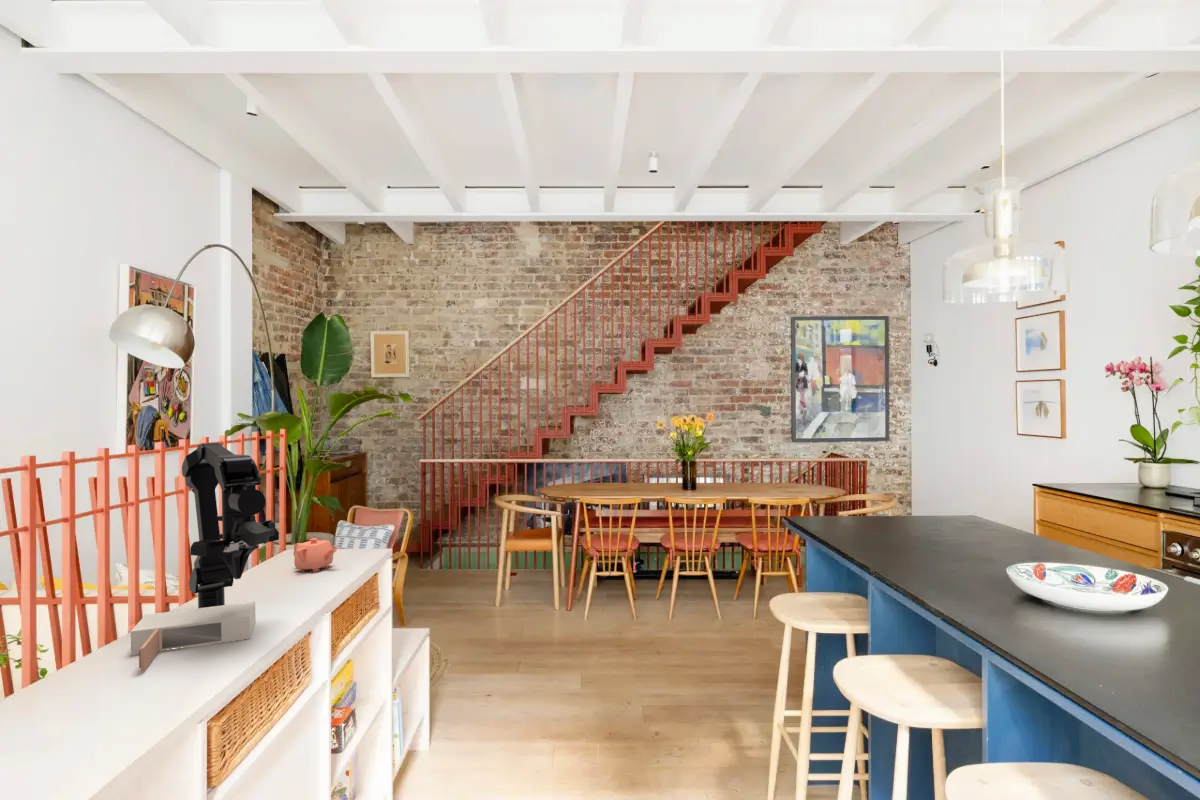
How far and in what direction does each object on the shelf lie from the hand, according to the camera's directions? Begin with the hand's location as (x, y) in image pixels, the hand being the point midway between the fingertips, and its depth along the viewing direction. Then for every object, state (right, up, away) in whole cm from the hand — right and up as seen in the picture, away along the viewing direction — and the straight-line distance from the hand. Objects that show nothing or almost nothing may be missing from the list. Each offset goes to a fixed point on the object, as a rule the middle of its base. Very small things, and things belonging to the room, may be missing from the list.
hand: (237, 578), depth 151 cm
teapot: (-6, -13, +56) cm, 57 cm away
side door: (-8, -12, -18) cm, 23 cm away
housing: (-7, -12, -4) cm, 14 cm away
